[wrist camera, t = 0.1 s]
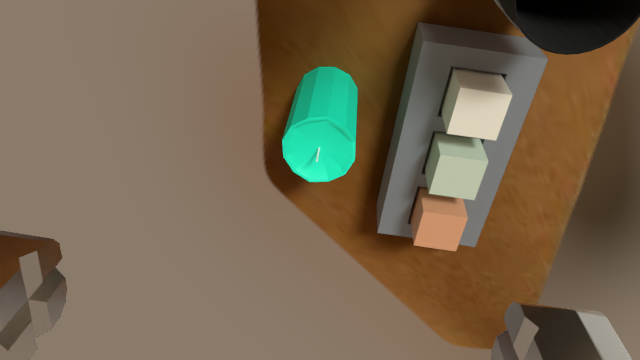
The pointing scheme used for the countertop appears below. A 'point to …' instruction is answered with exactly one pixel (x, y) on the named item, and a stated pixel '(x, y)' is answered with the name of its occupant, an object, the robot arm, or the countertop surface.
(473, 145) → the key mid
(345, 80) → the candle
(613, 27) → the grey black ceramic vase
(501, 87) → the key
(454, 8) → the countertop surface
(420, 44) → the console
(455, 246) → the key
